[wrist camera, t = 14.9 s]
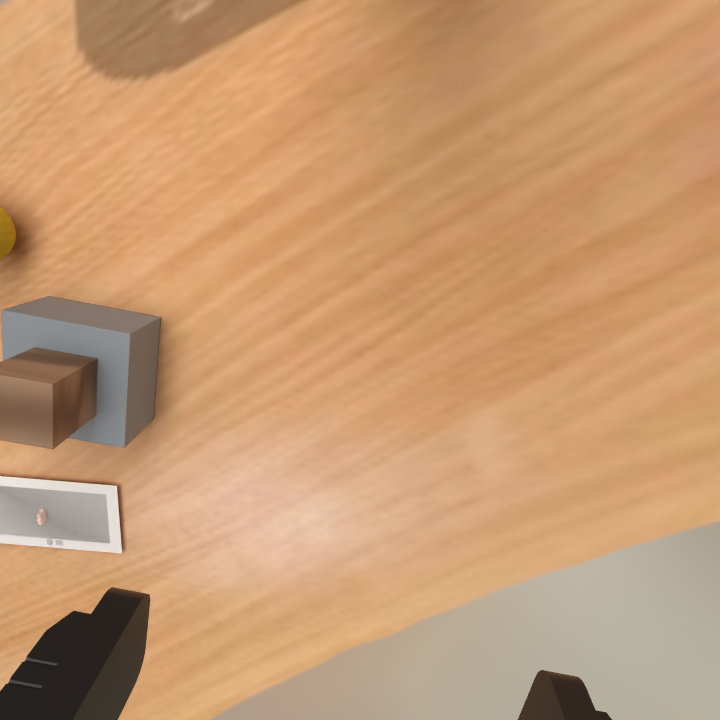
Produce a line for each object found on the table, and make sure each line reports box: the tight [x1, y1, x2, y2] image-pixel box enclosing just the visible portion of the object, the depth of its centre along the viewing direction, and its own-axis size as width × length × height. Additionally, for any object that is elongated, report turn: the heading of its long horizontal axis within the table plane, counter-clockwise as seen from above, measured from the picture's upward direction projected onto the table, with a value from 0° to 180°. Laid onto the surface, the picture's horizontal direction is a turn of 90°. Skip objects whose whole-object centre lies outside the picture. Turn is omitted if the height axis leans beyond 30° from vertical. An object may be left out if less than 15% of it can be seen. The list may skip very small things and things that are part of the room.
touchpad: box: [0, 476, 122, 553], centre depth 52 cm, size 8×15×2 cm, turn 86°
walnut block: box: [0, 347, 98, 449], centre depth 39 cm, size 5×5×6 cm
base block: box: [2, 296, 161, 448], centre depth 45 cm, size 10×10×6 cm
